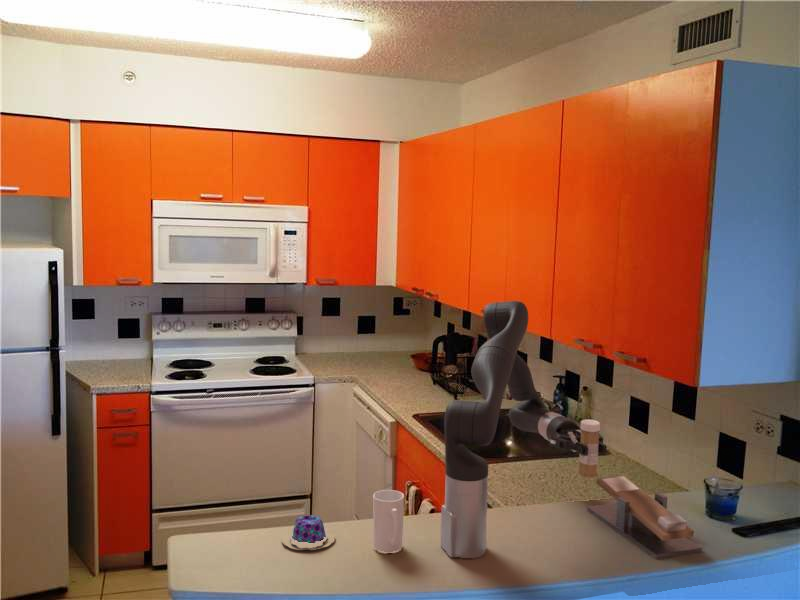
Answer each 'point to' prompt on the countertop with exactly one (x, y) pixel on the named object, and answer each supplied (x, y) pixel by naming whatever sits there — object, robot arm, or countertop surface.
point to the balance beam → (646, 508)
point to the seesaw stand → (642, 529)
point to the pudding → (308, 529)
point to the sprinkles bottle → (589, 448)
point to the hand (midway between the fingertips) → (595, 450)
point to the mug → (388, 520)
